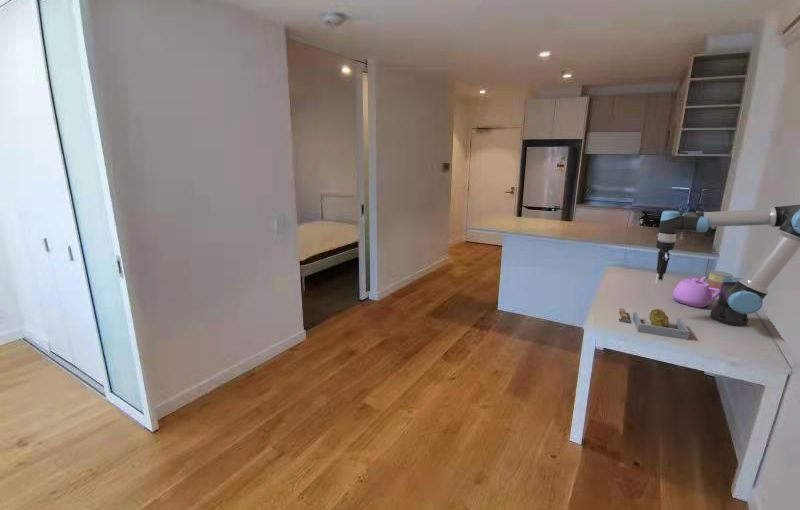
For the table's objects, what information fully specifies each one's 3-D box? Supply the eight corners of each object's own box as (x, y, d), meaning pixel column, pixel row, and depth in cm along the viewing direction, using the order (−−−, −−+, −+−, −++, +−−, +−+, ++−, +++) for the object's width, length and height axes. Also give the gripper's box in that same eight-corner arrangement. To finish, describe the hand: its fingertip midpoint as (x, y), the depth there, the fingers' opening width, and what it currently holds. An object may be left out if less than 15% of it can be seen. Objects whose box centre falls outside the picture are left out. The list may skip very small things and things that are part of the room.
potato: (647, 329, 186) (650, 314, 184) (647, 320, 196) (650, 306, 194) (668, 333, 181) (671, 318, 179) (667, 324, 192) (670, 309, 190)
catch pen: (678, 325, 190) (680, 318, 189) (688, 339, 176) (689, 332, 175) (632, 318, 198) (633, 311, 197) (637, 331, 183) (639, 324, 182)
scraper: (616, 311, 207) (616, 307, 206) (626, 313, 205) (627, 309, 204) (619, 321, 194) (620, 317, 194) (630, 323, 192) (631, 319, 192)
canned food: (719, 288, 243) (724, 271, 240) (733, 295, 233) (737, 276, 229) (701, 287, 245) (705, 270, 241) (713, 294, 234) (718, 275, 231)
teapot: (710, 313, 205) (717, 287, 201) (667, 301, 222) (672, 277, 218) (726, 304, 217) (732, 280, 213) (683, 293, 234) (689, 270, 230)
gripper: (654, 238, 199) (647, 280, 205) (660, 243, 188) (652, 287, 193) (671, 239, 196) (664, 281, 202) (678, 244, 185) (670, 289, 191)
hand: (658, 284), depth 198 cm, fingers closed
